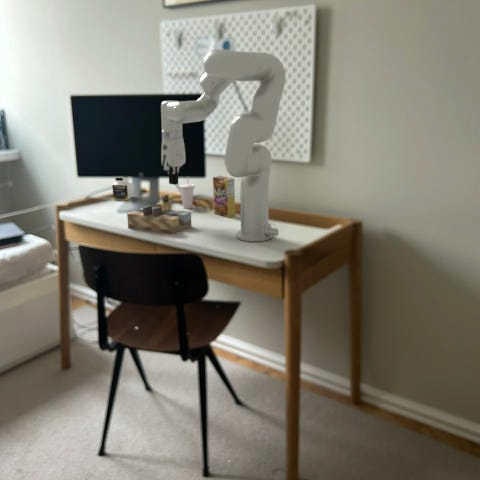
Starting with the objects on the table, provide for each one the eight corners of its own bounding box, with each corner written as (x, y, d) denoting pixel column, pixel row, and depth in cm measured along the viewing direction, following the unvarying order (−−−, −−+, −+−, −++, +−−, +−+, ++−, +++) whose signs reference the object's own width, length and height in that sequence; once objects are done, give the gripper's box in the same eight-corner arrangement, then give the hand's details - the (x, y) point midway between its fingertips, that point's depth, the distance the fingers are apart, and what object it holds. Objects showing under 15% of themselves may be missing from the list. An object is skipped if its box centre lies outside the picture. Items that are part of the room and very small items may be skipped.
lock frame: (191, 226, 192) (190, 203, 190) (173, 234, 182) (172, 211, 180) (147, 220, 201) (146, 198, 199) (128, 227, 191) (126, 205, 188)
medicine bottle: (113, 199, 236) (111, 173, 233) (119, 196, 243) (117, 170, 239) (128, 200, 235) (126, 173, 231) (133, 196, 242) (131, 171, 238)
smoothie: (192, 209, 217) (191, 176, 212) (178, 209, 218) (176, 176, 214) (197, 206, 223) (195, 173, 218) (182, 205, 224) (181, 173, 220)
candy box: (213, 213, 210) (212, 176, 205) (221, 212, 213) (220, 175, 208) (227, 217, 204) (226, 179, 199) (235, 216, 206) (235, 178, 202)
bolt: (171, 208, 195) (170, 194, 193) (161, 212, 190) (161, 198, 188) (165, 208, 196) (165, 194, 194) (156, 211, 191) (155, 197, 189)
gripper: (169, 138, 183) (170, 188, 189) (191, 133, 196) (192, 181, 202) (151, 136, 187) (154, 186, 192) (175, 132, 199) (176, 179, 205)
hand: (173, 183), depth 197 cm, fingers closed
